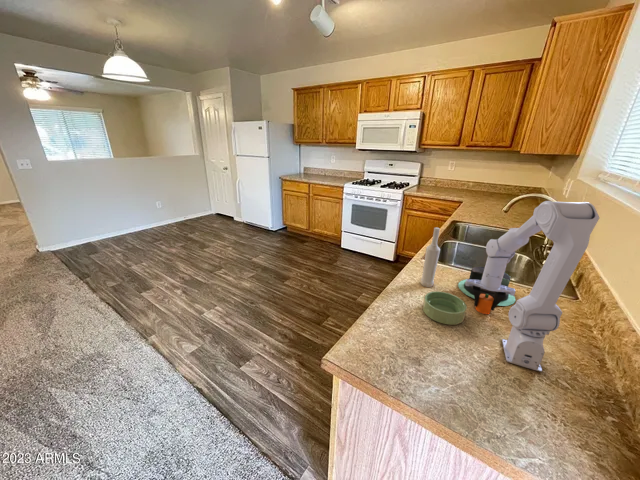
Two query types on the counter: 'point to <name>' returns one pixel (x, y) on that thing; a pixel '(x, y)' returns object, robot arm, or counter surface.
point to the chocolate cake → (477, 275)
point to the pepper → (484, 303)
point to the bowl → (444, 307)
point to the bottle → (431, 261)
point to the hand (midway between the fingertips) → (483, 307)
